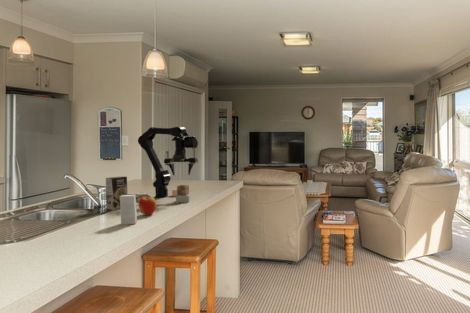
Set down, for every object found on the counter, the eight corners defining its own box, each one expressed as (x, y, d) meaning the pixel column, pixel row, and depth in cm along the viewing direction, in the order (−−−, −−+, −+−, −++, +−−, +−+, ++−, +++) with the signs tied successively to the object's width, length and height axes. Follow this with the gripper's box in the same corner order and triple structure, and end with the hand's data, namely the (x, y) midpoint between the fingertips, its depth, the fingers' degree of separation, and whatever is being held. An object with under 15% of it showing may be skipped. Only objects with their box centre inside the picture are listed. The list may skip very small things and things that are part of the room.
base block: (176, 203, 245) (175, 195, 245) (177, 201, 252) (177, 194, 252) (188, 202, 245) (188, 195, 245) (190, 200, 252) (190, 193, 252)
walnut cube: (177, 195, 247) (176, 186, 246) (180, 194, 252) (180, 185, 251) (185, 195, 246) (185, 186, 245) (189, 194, 250) (188, 185, 250)
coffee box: (114, 210, 227) (112, 178, 226) (106, 209, 231) (104, 177, 230) (128, 207, 234) (127, 176, 234) (120, 206, 238) (119, 175, 237)
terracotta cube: (172, 196, 270) (172, 190, 270) (172, 195, 274) (172, 189, 274) (179, 196, 270) (178, 189, 270) (179, 195, 274) (179, 188, 274)
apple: (157, 212, 215) (156, 191, 215) (155, 216, 207) (154, 194, 207) (140, 213, 215) (139, 192, 215) (137, 216, 207) (136, 194, 207)
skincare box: (137, 222, 194) (135, 194, 193) (135, 224, 190) (134, 195, 189) (122, 222, 194) (121, 194, 193) (120, 224, 190) (119, 196, 189)
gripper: (160, 149, 256) (161, 177, 257) (192, 148, 253) (193, 176, 254) (166, 148, 267) (167, 175, 268) (197, 147, 264) (198, 174, 265)
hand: (181, 175), depth 264 cm, fingers open, 9 cm apart
